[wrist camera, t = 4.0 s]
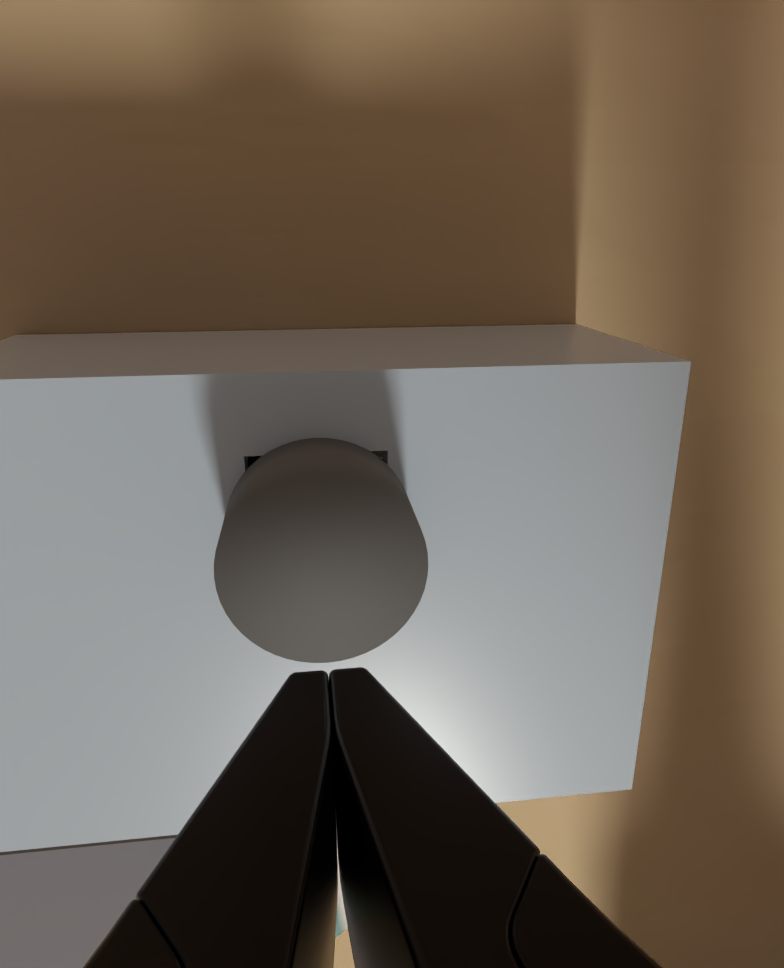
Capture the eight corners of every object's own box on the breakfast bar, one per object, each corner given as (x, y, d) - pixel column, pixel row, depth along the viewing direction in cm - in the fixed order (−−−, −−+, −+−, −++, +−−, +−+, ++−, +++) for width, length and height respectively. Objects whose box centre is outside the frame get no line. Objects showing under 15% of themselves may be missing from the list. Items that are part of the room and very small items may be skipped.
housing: (576, 324, 19) (691, 361, 13) (549, 651, 22) (631, 789, 16) (15, 334, 17) (-118, 382, 11) (79, 686, 20) (-2, 852, 15)
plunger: (387, 389, 16) (430, 465, 11) (387, 527, 17) (427, 655, 12) (235, 394, 16) (203, 475, 10) (246, 534, 17) (222, 670, 12)
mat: (235, 822, 23) (234, 831, 22) (255, 1015, 26) (254, 1026, 25) (-171, 861, 21) (-179, 873, 21) (-100, 1061, 24) (-106, 1074, 24)
